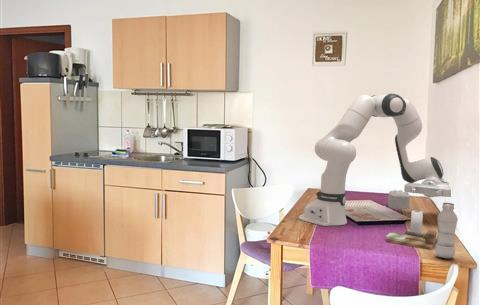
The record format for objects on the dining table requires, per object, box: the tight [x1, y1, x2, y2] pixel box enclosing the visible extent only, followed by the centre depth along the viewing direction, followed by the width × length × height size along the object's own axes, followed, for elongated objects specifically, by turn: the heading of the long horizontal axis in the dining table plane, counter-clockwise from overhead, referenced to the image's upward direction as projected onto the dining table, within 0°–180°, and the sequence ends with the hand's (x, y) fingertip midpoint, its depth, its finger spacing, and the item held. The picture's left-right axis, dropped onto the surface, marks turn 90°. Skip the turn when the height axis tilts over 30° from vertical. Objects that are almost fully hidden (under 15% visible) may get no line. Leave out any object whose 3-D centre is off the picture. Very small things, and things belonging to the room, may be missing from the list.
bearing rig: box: [385, 229, 437, 251], centre depth 176 cm, size 18×12×5 cm, turn 56°
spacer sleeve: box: [409, 210, 424, 234], centre depth 186 cm, size 4×4×10 cm
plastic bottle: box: [434, 202, 459, 260], centre depth 157 cm, size 6×7×20 cm
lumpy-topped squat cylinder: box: [387, 189, 411, 210], centre depth 238 cm, size 10×13×9 cm
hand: (424, 192), depth 195 cm, fingers open, 8 cm apart
